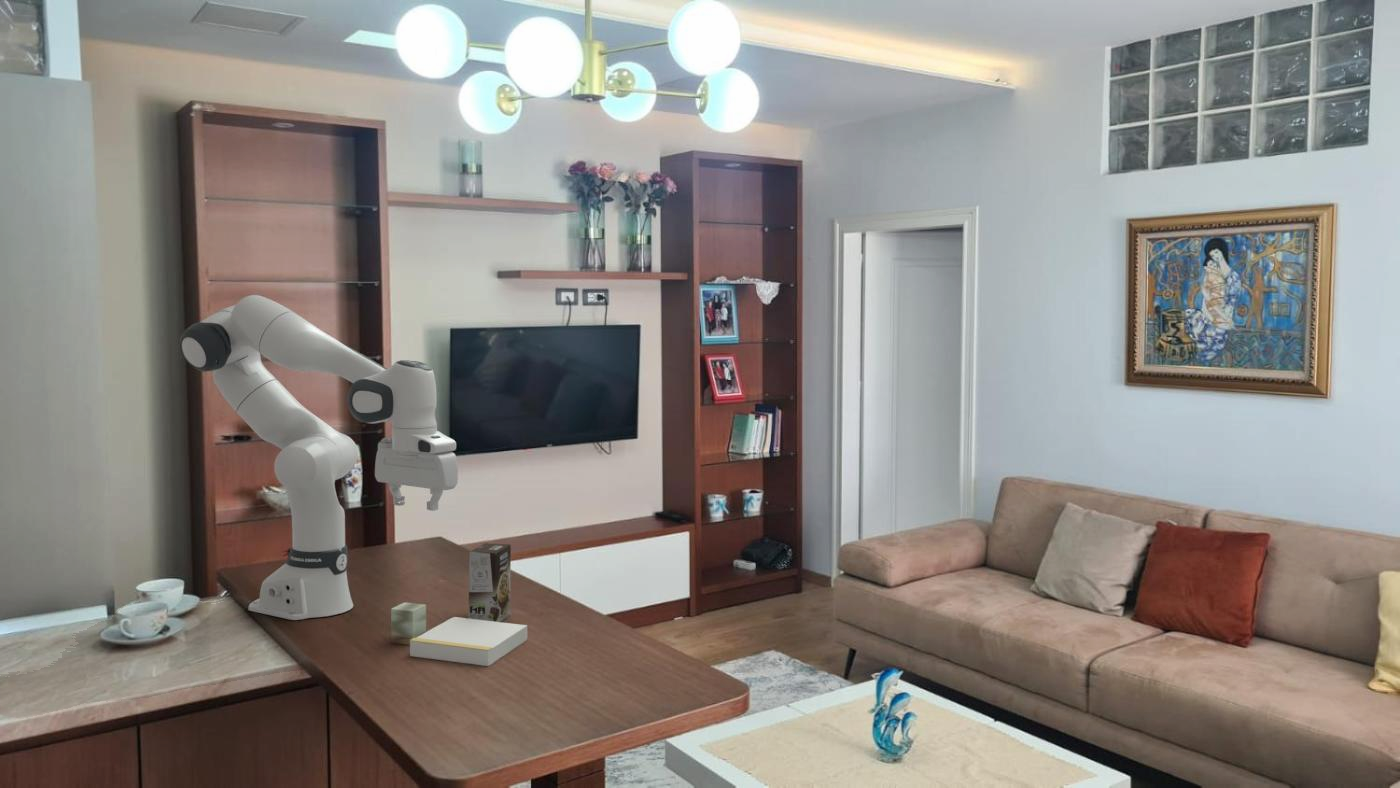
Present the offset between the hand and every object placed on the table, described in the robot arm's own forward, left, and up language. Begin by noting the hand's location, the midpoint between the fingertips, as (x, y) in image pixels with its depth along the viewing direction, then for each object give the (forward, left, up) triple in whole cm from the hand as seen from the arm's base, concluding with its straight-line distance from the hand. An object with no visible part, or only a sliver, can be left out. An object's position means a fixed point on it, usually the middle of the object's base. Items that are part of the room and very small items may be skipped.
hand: (415, 507), depth 219 cm
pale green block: (0, -2, -27) cm, 27 cm away
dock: (+14, -2, -27) cm, 30 cm away
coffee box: (+9, +16, -27) cm, 33 cm away
